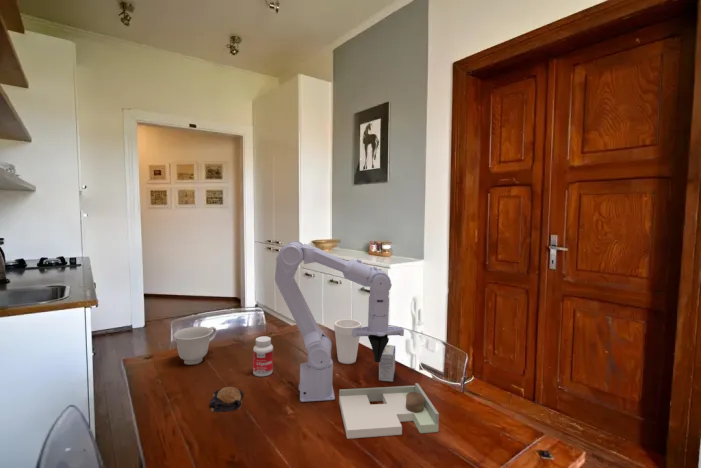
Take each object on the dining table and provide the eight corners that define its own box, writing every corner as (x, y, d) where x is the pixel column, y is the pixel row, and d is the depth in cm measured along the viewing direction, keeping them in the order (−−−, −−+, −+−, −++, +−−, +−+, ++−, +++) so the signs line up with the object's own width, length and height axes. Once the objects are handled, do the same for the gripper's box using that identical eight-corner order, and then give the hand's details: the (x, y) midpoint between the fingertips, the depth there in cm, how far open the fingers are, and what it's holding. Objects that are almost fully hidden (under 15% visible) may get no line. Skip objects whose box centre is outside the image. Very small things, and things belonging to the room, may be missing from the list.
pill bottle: (254, 378, 109) (254, 343, 109) (251, 370, 115) (251, 336, 114) (274, 375, 112) (275, 340, 111) (271, 367, 117) (271, 334, 117)
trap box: (347, 438, 82) (347, 419, 81) (338, 401, 97) (339, 385, 97) (438, 431, 85) (439, 413, 85) (416, 397, 100) (417, 382, 100)
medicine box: (392, 382, 109) (393, 354, 108) (378, 380, 110) (379, 353, 109) (394, 371, 117) (395, 345, 116) (381, 369, 118) (382, 344, 117)
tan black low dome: (212, 395, 100) (212, 382, 100) (243, 391, 103) (243, 379, 102) (208, 416, 90) (207, 402, 90) (242, 411, 92) (242, 397, 92)
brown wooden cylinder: (408, 412, 89) (408, 401, 89) (404, 403, 94) (404, 392, 93) (425, 412, 90) (426, 401, 89) (420, 402, 94) (421, 391, 94)
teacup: (226, 356, 125) (226, 328, 124) (187, 372, 112) (187, 341, 112) (205, 348, 131) (205, 322, 131) (166, 362, 119) (165, 333, 118)
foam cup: (365, 359, 125) (366, 323, 124) (348, 368, 118) (349, 329, 117) (345, 352, 131) (346, 317, 130) (328, 359, 124) (328, 323, 123)
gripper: (355, 318, 95) (354, 368, 96) (407, 317, 97) (406, 365, 98) (351, 310, 102) (350, 357, 103) (400, 309, 104) (398, 355, 105)
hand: (377, 360), depth 101 cm, fingers closed
